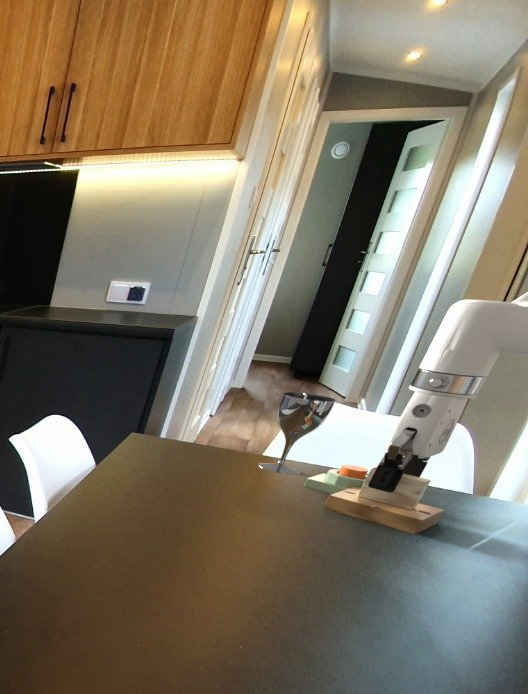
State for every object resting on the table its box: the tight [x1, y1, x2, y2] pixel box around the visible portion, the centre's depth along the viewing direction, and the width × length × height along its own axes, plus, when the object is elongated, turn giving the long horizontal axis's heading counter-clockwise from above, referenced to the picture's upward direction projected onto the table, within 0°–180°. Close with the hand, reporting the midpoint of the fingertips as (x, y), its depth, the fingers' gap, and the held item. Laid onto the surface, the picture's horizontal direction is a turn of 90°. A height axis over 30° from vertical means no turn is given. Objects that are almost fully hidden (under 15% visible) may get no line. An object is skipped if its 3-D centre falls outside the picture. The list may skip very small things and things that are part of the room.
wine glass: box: [257, 391, 337, 475], centre depth 128 cm, size 8×8×15 cm
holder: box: [358, 466, 432, 510], centre depth 107 cm, size 7×2×5 cm, turn 29°
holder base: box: [323, 487, 445, 535], centre depth 108 cm, size 12×11×3 cm
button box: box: [303, 468, 368, 495], centre depth 118 cm, size 10×7×4 cm
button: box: [339, 464, 369, 479], centre depth 118 cm, size 4×4×2 cm
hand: (391, 485), depth 107 cm, fingers open, 9 cm apart
